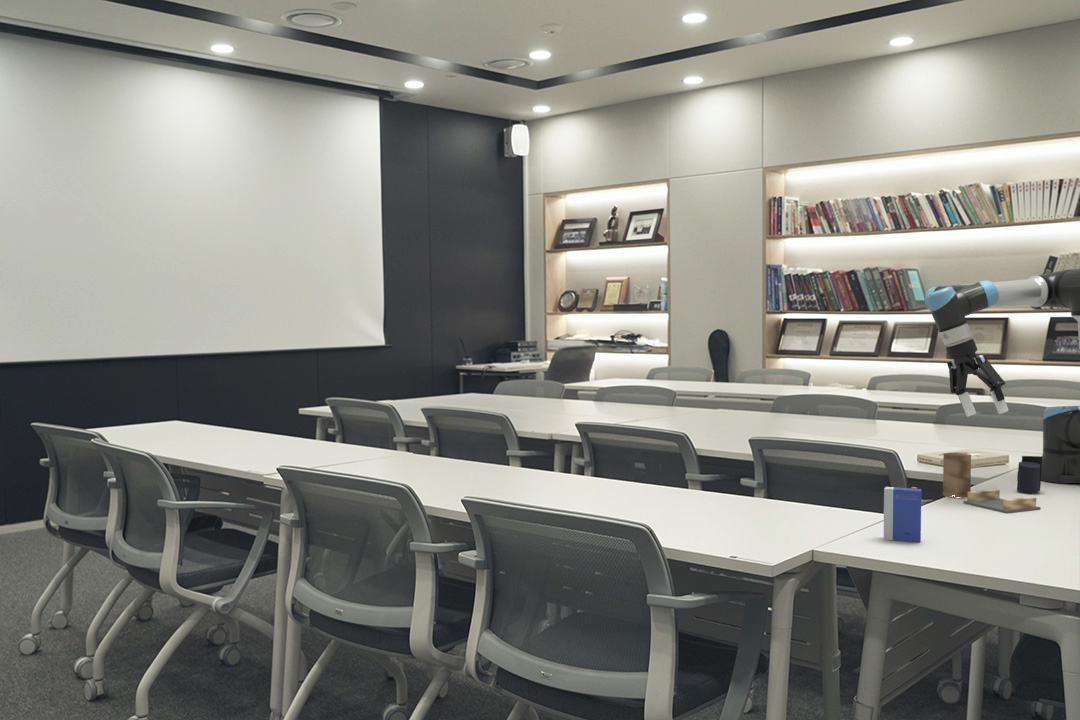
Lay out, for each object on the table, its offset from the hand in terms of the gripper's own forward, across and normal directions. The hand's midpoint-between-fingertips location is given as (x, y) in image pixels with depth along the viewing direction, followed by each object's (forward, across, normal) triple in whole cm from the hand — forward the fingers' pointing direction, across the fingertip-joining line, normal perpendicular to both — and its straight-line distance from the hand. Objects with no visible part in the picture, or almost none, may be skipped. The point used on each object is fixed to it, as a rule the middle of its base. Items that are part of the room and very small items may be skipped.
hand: (987, 413), depth 255 cm
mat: (+23, +6, -11) cm, 26 cm away
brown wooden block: (+20, -9, -13) cm, 25 cm away
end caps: (+23, +6, -11) cm, 26 cm away
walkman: (+12, +33, -56) cm, 66 cm away
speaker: (+28, -10, +10) cm, 31 cm away
